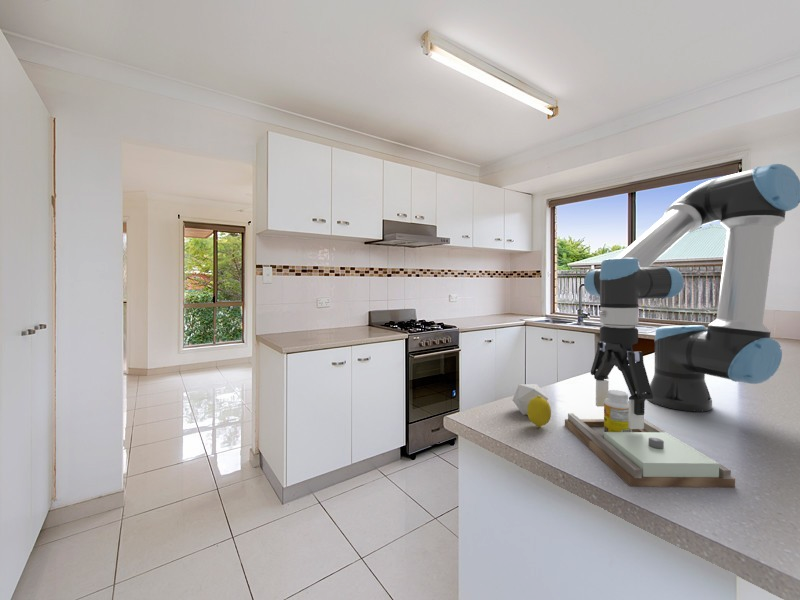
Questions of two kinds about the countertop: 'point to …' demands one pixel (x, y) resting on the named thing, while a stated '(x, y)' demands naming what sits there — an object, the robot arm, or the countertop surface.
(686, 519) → the countertop surface
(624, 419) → the supplement bottle
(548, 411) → the lemon
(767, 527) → the countertop surface
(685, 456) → the slide cover
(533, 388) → the die
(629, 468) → the wooden sliding lid box
